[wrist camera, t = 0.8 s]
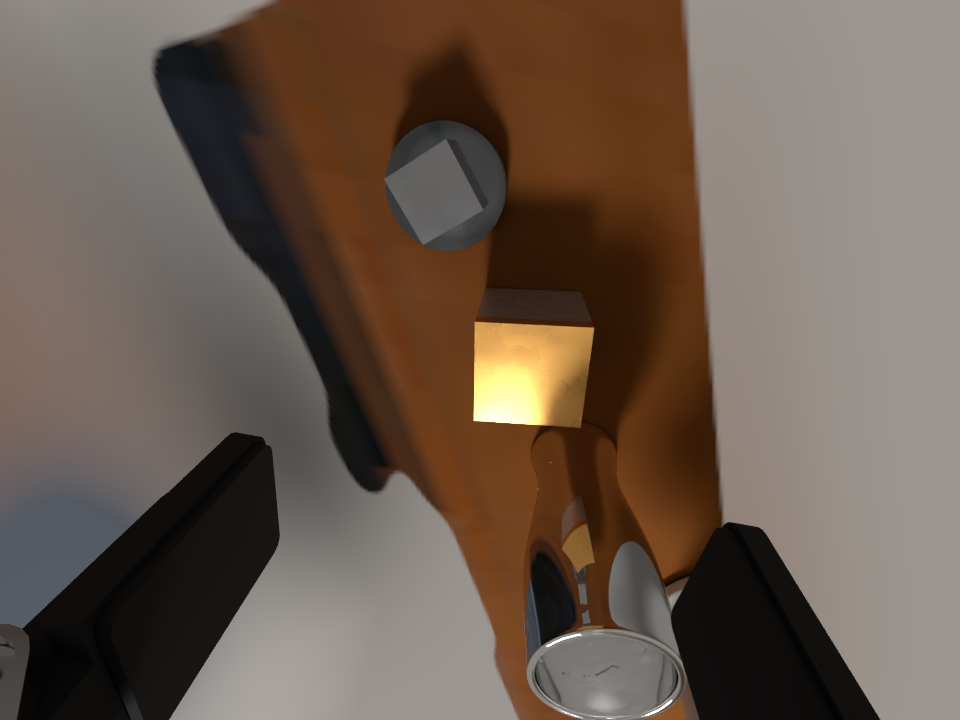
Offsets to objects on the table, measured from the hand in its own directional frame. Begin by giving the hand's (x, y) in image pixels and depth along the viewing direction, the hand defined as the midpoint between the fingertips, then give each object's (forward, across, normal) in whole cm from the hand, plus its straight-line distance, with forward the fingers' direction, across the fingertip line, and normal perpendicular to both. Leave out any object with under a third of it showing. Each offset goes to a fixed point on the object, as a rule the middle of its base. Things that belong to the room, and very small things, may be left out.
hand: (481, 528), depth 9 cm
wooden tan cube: (+19, -2, +3) cm, 20 cm away
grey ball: (+20, +4, -5) cm, 21 cm away
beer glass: (+20, -7, +12) cm, 24 cm away
